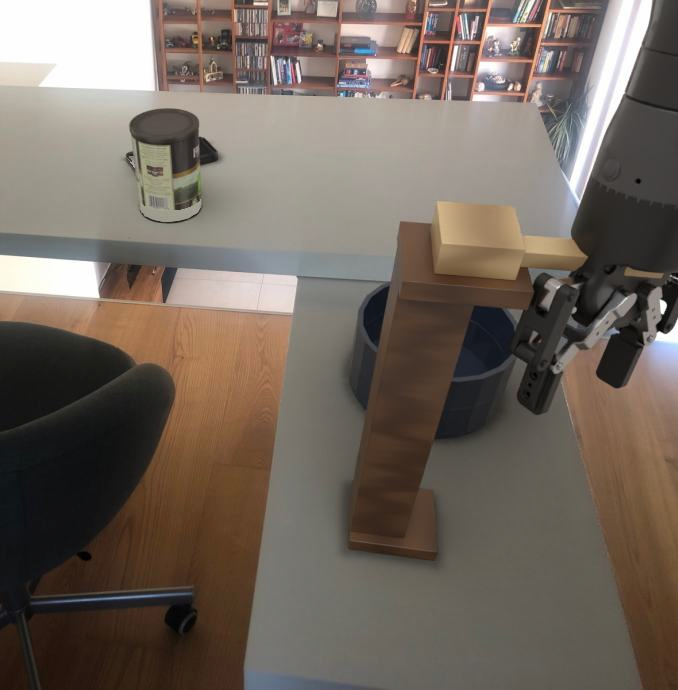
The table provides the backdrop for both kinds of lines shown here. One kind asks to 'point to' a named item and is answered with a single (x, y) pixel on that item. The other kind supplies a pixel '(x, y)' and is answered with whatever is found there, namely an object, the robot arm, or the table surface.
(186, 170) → the coffee can
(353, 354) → the pot
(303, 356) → the table surface
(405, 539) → the stand
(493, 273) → the t-shaped wooden block
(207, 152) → the phone
